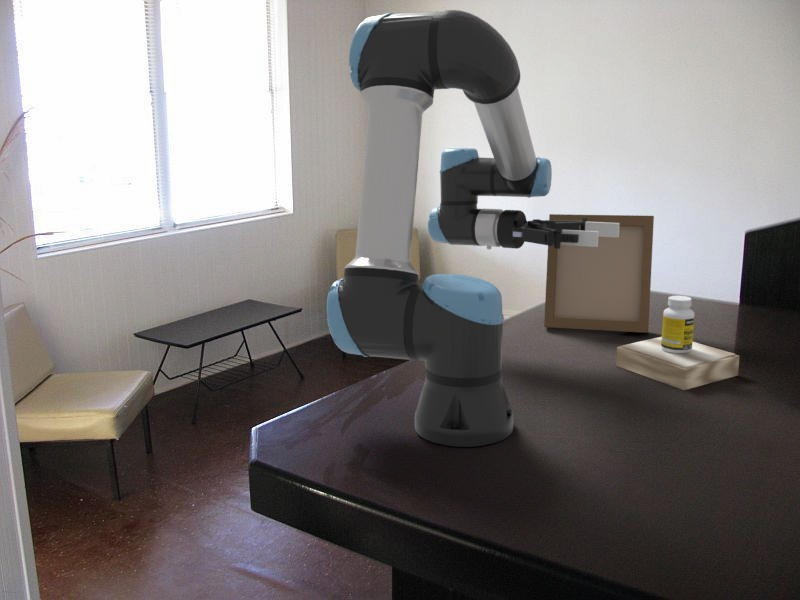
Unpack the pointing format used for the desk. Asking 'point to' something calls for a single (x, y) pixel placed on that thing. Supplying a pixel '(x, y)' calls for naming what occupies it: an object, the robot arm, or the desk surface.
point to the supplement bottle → (678, 325)
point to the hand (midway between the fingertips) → (608, 234)
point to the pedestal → (678, 363)
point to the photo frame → (602, 278)
